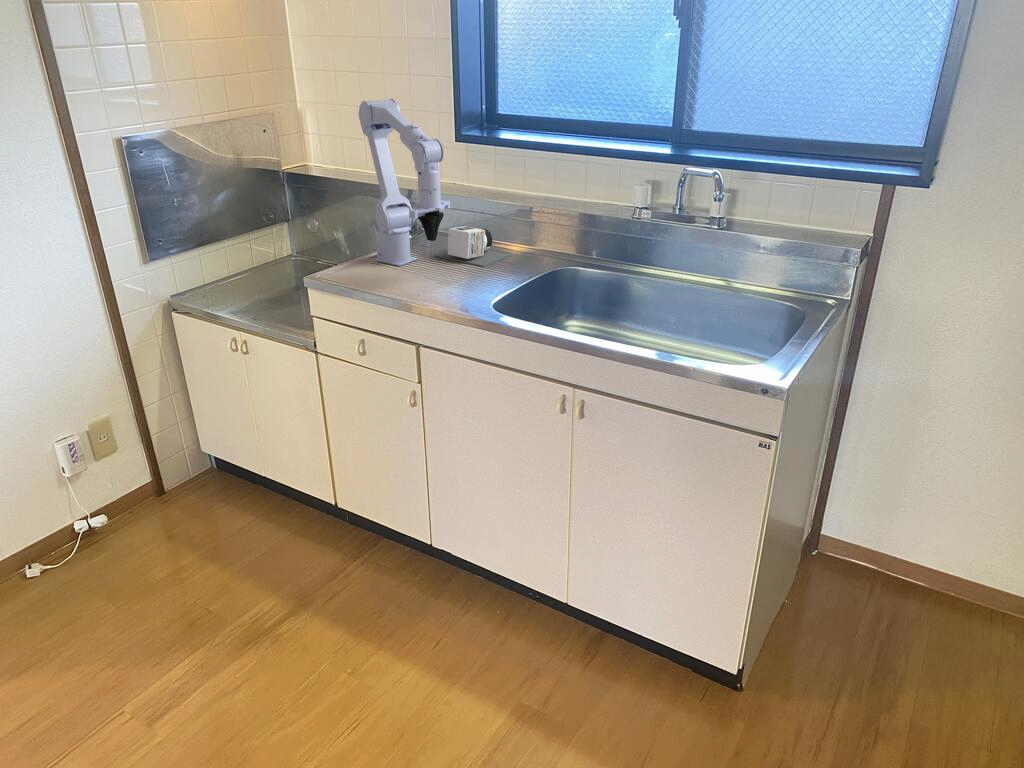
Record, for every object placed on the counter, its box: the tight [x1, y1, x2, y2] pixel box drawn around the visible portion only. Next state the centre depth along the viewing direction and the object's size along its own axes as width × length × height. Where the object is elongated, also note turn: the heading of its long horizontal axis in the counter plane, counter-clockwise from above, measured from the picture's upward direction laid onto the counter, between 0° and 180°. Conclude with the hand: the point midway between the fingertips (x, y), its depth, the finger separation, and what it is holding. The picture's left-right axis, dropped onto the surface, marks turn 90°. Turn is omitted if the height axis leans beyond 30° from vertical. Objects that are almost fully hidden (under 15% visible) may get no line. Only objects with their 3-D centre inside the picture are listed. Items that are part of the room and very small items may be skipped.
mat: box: [434, 249, 511, 268], centre depth 229 cm, size 18×13×1 cm
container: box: [447, 225, 493, 259], centre depth 227 cm, size 8×8×13 cm
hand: (431, 240), depth 207 cm, fingers closed
